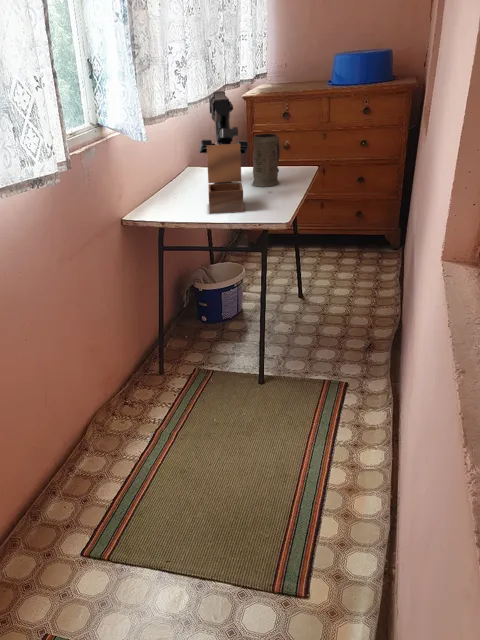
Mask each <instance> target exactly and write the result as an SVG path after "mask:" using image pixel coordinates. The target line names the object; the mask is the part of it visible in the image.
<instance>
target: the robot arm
mask: <svg viewBox="0 0 480 640" xmlns="http://www.w3.org/2000/svg"><path fill="white" fill-rule="evenodd" d="M212 94H213V95H212V96H211V97H210V98H209V102H208V103H209V106H208V108H209V114H211V120H212V121H213V122H214V124H215V127H214V128H215V141H216V142H215V143H213V142H212V139H201V141H200V144H199V153H200V154H207V146H208V145H223V144H232V143H233V140H234V137H236V138H237V137H238V136H239V127H238V126H233V127H232V128H231V123H230V119H231V112H233V110H234V105H233V103H232V102H231V101H230V98H229V97H227V96H226V91H224V90H219V91H214V92H212ZM239 143H240V147H241V155H245V154H247V152H248V150H249V148H250V145H249V144H250V143H249V142H248V141H247V140H240V139H239V140H237V143H236V144H239ZM222 183H235V182H221V183H212V184H222Z"/></svg>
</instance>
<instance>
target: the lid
mask: <svg viewBox="0 0 480 640" xmlns="http://www.w3.org/2000/svg"><path fill="white" fill-rule="evenodd" d="M206 163H207V182H208V184H213V183H221V182H234V183H238V182H242V154H241V147H240V143H239V144H237V143H231V144H223V145H208V146H207V153H206Z"/></svg>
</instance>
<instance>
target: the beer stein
mask: <svg viewBox="0 0 480 640" xmlns="http://www.w3.org/2000/svg"><path fill="white" fill-rule="evenodd" d="M280 144H281V143H280V136H279V135H278V134H276V133H261V134H255V135H254V136H253V152H252V177H253V181H252V186H255V187H259V188H269V187H274V186H277V185H278V184H279V178H278V177H279V172H280V169H279V161H280V157H281V145H280Z"/></svg>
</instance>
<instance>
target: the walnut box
mask: <svg viewBox="0 0 480 640" xmlns="http://www.w3.org/2000/svg"><path fill="white" fill-rule="evenodd" d="M207 185H208V187H207V188H208V208H209V209H208V212H209V214H210V215H212V214H213V215H214V214H227V213H228V214H229V213H244V209H245V208H244V189H243V183H242V181H238V182H234V183H222V184H213V183H208V184H207Z"/></svg>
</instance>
